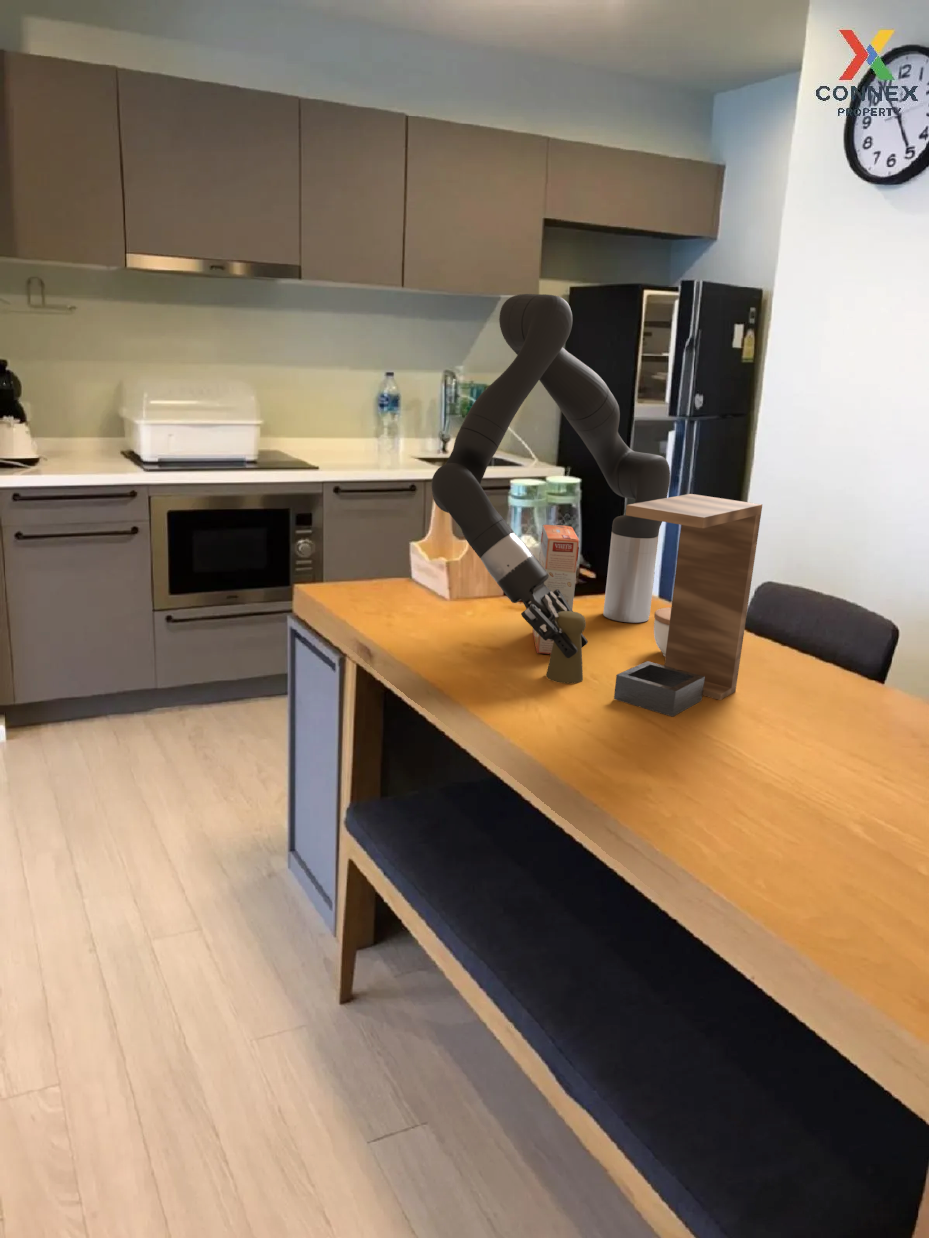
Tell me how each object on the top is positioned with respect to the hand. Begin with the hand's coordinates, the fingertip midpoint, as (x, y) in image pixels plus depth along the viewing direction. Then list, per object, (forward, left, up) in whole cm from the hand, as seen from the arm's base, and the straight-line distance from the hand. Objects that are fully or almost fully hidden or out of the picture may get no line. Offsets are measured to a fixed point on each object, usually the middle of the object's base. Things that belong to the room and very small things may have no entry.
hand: (578, 650), depth 157 cm
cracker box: (-14, -14, -5) cm, 20 cm away
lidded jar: (-26, +6, -5) cm, 27 cm away
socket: (-2, +14, -5) cm, 15 cm away
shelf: (-5, +15, -5) cm, 17 cm away
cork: (0, -2, -5) cm, 6 cm away
